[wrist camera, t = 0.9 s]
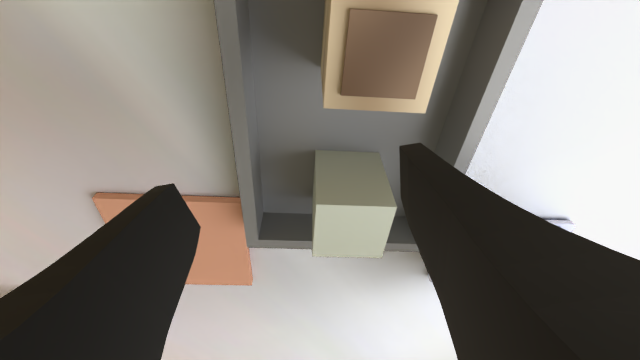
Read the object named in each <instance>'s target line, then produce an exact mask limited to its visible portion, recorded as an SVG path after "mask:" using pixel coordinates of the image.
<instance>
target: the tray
mask: <svg viewBox="0 0 640 360" xmlns="http://www.w3.org/2000/svg"><path fill="white" fill-rule="evenodd" d="M542 2H543V0H459V3H458V6H457V10H456V13H455V16H454V19H453V23H452V26H451V29H450V33H449V36H448V39H447V43H446V46H445V49H444V53H443V56H442V59H441V63H440V66H439V69H438V73H437V76H436V79H435V83H434V86H433V89H432V93H431V96H430V99H429V103H428V106H427V109H426V113H407V112H387V111H367V110H348V109H328V108H323V95H322V80H321V54H322V38H323V22H324V6H325V0H214V5H215V13H216V20H217V28H218V35H219V43H220V50H221V57H222V65H223V72H224V80H225V87H226V95H227V102H228V110H229V117H230V125H231V132H232V139H233V147H234V154H235V162H236V169H237V177H238V184H239V192H240V199H241V207H242V214H243V221H244V229H245V236H246V244H247V248H287V249H312V198H313V182H314V166H315V150H328V151H351V152H374V153H379V154H380V157H381V160H382V163H383V166H384V169H385V172H386V175H387V178H388V181H389V184H390V187H391V190H392V193H393V196H394V199H395V203H396V206H397V209H396V212H395V216H394V219H393V222H392V226H391V229H390V232H389V236H388V239H387V242H386V245H385V249H384V251H407V252H419V249H418V247H417V244H416V242H415V240H414V237H413V235H412V232H411V230H410V228H409V225H408V222H407V218H406V215H405V211H404V208H403V204H402V200H401V192H400V153H399V146H402V145H408V144H414V143H422V144H423V145H424V146H426V147H427V148H429V149H430V150H431V151H433V152H434V153H435V154H437V155H438V156H439V157H441V158H442V159H443V160H445V161H446V162H448V163H449V164H450V165H452V166H453V167H455V168H456V169H458V170H459V171H461V172H462V173H463V174H465V173H466V171H467V169H468V167H469V164H470V162H471V160H472V158H473V156H474V153H475V151H476V149H477V147H478V144H479V142H480V140H481V138H482V136H483V133H484V131H485V129H486V127H487V124H488V122H489V120H490V118H491V116H492V113H493V111H494V109H495V107H496V104H497V102H498V100H499V98H500V96H501V93H502V91H503V89H504V87H505V84H506V82H507V80H508V78H509V76H510V73H511V71H512V69H513V67H514V64H515V62H516V60H517V58H518V55H519V53H520V51H521V49H522V47H523V44H524V42H525V40H526V38H527V35H528V33H529V31H530V29H531V27H532V24H533V22H534V20H535V18H536V15H537V13H538V11H539V9H540V7H541V4H542Z"/></svg>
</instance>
